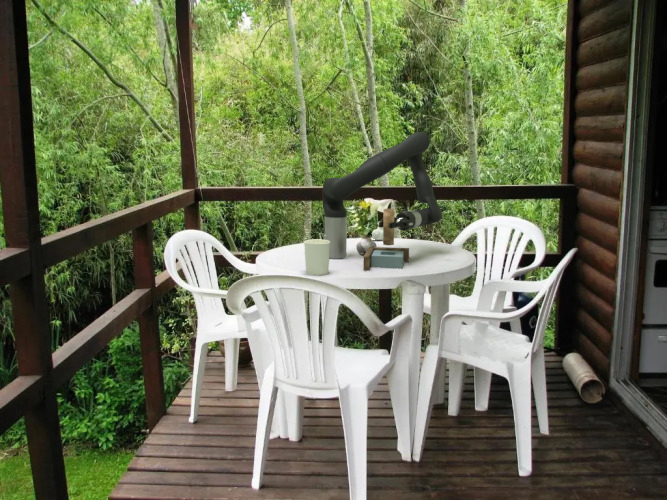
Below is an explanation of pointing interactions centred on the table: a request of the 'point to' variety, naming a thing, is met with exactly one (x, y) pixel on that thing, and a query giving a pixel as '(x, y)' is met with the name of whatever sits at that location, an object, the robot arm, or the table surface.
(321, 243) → the candle holder
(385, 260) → the socket block
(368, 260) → the backstop fence
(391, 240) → the oak dowel
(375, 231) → the duck figurine
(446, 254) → the table surface
